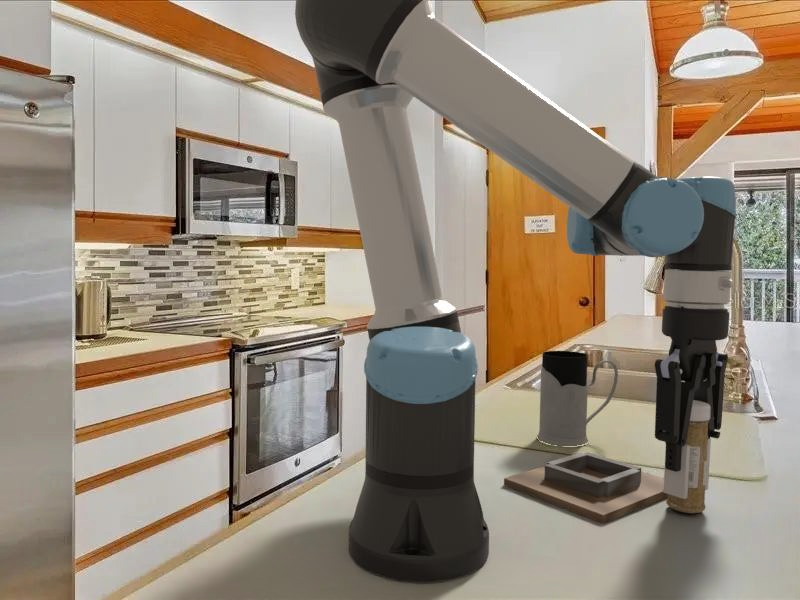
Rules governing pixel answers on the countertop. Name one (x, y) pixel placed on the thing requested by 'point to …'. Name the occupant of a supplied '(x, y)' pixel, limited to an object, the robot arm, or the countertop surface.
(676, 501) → the sprinkles bottle
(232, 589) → the countertop surface
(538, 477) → the socket board
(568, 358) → the grey mug
